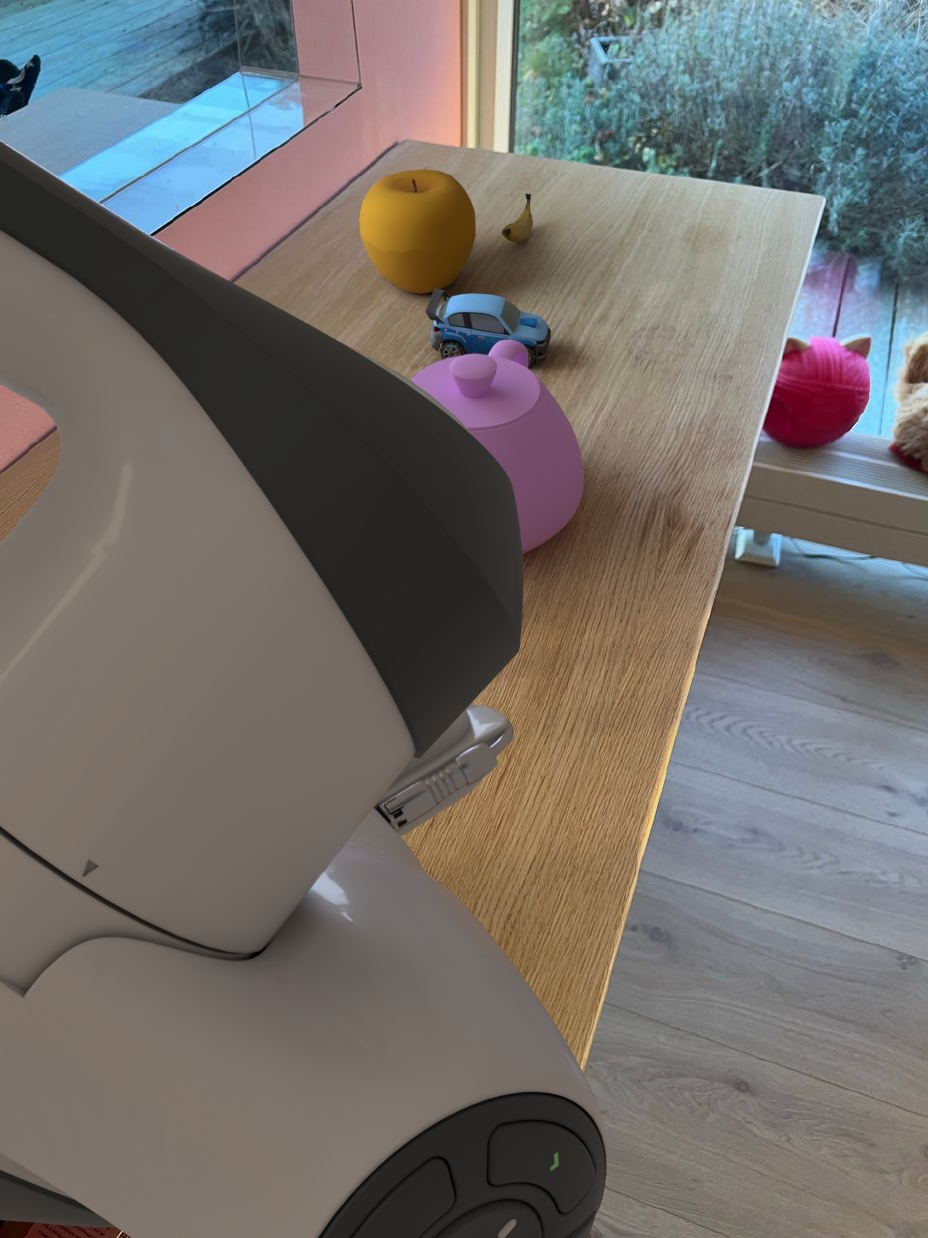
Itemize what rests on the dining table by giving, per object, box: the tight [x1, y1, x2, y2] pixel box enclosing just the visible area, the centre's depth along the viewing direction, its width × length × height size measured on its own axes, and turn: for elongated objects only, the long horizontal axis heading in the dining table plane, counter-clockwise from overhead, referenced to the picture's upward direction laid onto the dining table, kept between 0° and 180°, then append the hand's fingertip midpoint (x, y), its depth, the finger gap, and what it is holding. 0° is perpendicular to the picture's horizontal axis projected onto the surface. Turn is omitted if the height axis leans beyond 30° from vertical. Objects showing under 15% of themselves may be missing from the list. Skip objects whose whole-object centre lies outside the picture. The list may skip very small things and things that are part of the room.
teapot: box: [409, 340, 585, 555], centre depth 79 cm, size 25×18×14 cm
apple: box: [358, 169, 477, 295], centre depth 110 cm, size 13×13×11 cm
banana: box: [501, 192, 534, 244], centre depth 118 cm, size 10×2×4 cm, turn 163°
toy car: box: [425, 288, 552, 368], centre depth 100 cm, size 6×12×6 cm, turn 80°
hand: (200, 768), depth 45 cm, fingers open, 8 cm apart
